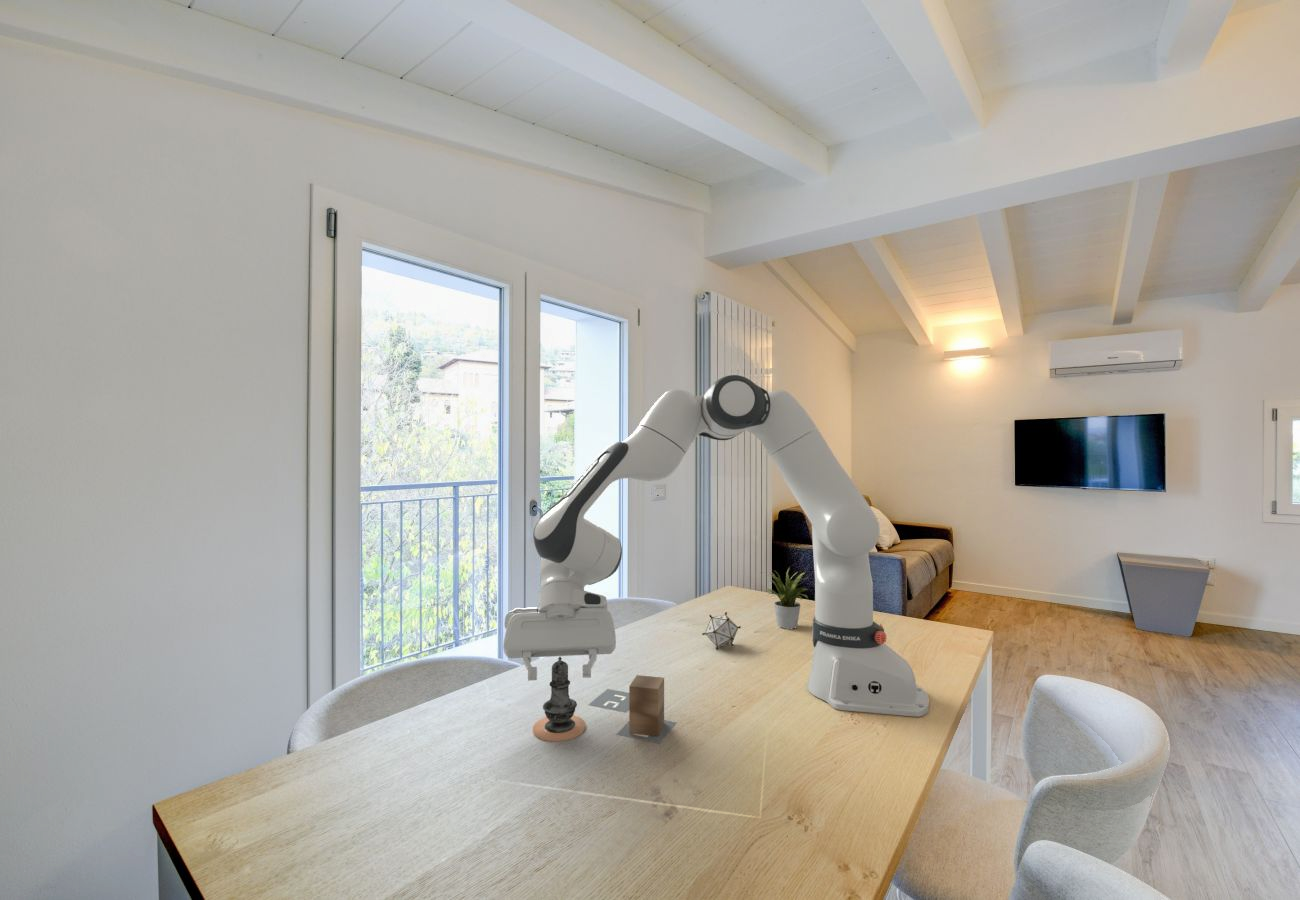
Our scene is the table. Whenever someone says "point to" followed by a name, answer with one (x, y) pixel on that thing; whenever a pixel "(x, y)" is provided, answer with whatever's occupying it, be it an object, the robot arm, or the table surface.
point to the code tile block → (664, 731)
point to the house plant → (787, 601)
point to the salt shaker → (559, 701)
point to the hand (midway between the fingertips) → (559, 677)
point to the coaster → (546, 735)
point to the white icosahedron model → (721, 630)
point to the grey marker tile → (612, 700)
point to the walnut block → (646, 705)
